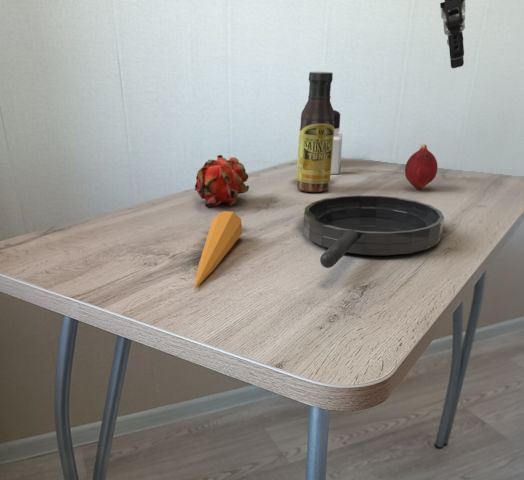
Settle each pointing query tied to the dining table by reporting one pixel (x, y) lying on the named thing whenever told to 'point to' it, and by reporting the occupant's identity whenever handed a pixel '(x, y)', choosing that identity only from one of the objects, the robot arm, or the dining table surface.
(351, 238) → the pan handle
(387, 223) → the pan
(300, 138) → the sauce bottle
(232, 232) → the carrot
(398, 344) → the dining table surface
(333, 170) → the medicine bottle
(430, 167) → the onion
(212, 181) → the dragon fruit
